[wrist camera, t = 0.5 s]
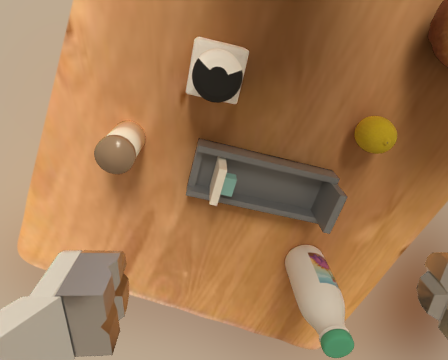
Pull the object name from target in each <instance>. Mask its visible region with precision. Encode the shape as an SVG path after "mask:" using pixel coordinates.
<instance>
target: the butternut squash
mask: <svg viewBox="0 0 448 360" xmlns="http://www.w3.org/2000/svg"><path fill="white" fill-rule="evenodd" d="M428 40H429V41H430V42H431V44H432V48H433V52H434V54H435V55H436V57H437V58H438V59H439V60H440V62H441V63H442V64H444V65H445V66H446V67H447V68H448V0H444V1H443V2H442V3H441V5H440V6H439V8H438V10H437V12H436V14H435V16H434V18H433V20H432V22H431V25H430V29H429V34H428Z"/></svg>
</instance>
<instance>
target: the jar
mask: <svg viewBox="0 0 448 360" xmlns="http://www.w3.org/2000/svg"><path fill="white" fill-rule="evenodd" d="M145 140H146V136H145V132H144V130H143V128H142V127H141V126H140V125H139V124H137V123H135V122H133V121H123V122H120V123H119V124H118V125H117V126H116V127H115V128H114V129H113V130H112V131H111V132H110V133H109V134H108V135H107V136H106V137H104V138H103V139H102V140H101V141H100V142H99V143H98V144H97V145H96V147H95V151H94V156H95V160H96V162H97V164H98V165H99V166H100V167H101V168H102V169H103V170H105V171H106V172H109V173H112V174H122V173H125V172H127V171H128V170H129V169H130V168H131V167H132V165H133V164H134V162H135V160H136V157H137V155H138V154H139V152H140V150H141V149H142V147H143V145H144V143H145Z"/></svg>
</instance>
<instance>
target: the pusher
mask: <svg viewBox="0 0 448 360" xmlns="http://www.w3.org/2000/svg"><path fill="white" fill-rule="evenodd" d="M236 181H237V178H236V175H235V174H231V173H227V163H226V158H223V157H219V156H218V157H217V161H216V165H215V168H214V172H213V176H212V179H211V183H210V191H209V204H210V205H215V206H217V204H218V200H219V197H220V194H221V195H226V196H230V197H232V194H233V191H234V188H235V184H236Z"/></svg>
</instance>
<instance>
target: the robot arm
mask: <svg viewBox="0 0 448 360" xmlns="http://www.w3.org/2000/svg"><path fill="white" fill-rule="evenodd" d="M126 265H127V264H126V257H125V253H124V252H123V251H90V250H84V251H82V250H64V251H62V252H60V253H59V254H58V255H57V257H56V258H55V259H54V261H53V262H52V264H51V265H50V267H49V268H48V269H47V271H46V272H45V274H44V275H43V277H42V278H41V280H40V281H39V282H38V284H37V285H36V287H35V288H34V290H33V291H32V292H31V294H30V295H29V297H21V298H19V299H17V300H16V301H14V302H12V303H10V304H9V305H7V306H5V307H4V308H2V309H0V360H74V359H75V357H78V356H103V355H113V352H114V348H115V345H116V342H117V339H118V335H119V332H120V327H119V320H120V319H121V318H122V317H124V315H125V312H126V309H127V304H128V297H129V281H128V278H127V277H126V275H125V274H124V271H125V268H126ZM425 267H426V269H427V272H426V273H425V274H424V275H423V276H421V277H420V279H419V282H418V285H417V294H418V299H419V301H420V304H421V306H422V307H423V308H424V310H425V311H426V313H427V314H429V315H430V316H432V317H434V318H435V319H437V320H438V328H439V329H440V331H441V332H442V333H443V334H444V335H445V337H446V338H447V339H448V253H431V254H430V255H429V256H428V257H427V260H426V262H425Z"/></svg>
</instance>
